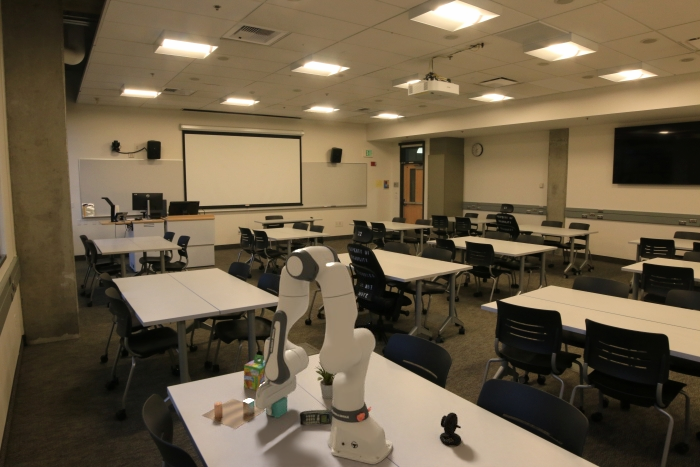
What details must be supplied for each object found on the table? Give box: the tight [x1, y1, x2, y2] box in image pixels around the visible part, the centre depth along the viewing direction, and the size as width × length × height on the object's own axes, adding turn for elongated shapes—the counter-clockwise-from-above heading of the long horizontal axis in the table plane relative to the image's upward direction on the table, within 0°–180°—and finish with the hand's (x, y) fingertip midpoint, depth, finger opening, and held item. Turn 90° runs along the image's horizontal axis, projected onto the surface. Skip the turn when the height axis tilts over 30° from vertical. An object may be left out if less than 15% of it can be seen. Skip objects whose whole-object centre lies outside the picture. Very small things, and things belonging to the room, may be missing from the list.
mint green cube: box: [265, 397, 288, 419], centre depth 174 cm, size 6×6×7 cm
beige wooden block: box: [242, 397, 255, 415], centre depth 173 cm, size 3×3×5 cm
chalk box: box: [243, 354, 265, 391], centre depth 197 cm, size 9×9×15 cm
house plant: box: [314, 361, 336, 400], centre depth 189 cm, size 14×14×16 cm
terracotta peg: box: [213, 401, 223, 418], centre depth 171 cm, size 3×3×5 cm
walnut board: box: [201, 398, 266, 430], centre depth 174 cm, size 18×16×2 cm
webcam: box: [439, 412, 462, 447], centre depth 157 cm, size 8×8×10 cm
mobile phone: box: [299, 409, 332, 426], centre depth 169 cm, size 5×3×15 cm
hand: (276, 410), depth 174 cm, fingers closed on mint green cube, 6 cm apart
